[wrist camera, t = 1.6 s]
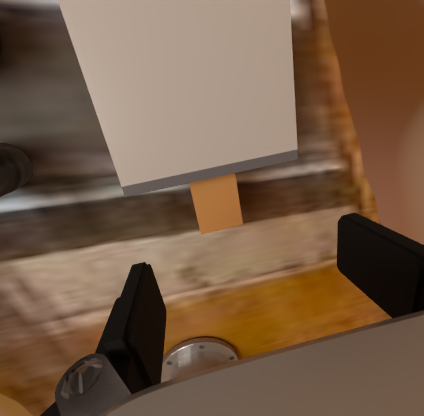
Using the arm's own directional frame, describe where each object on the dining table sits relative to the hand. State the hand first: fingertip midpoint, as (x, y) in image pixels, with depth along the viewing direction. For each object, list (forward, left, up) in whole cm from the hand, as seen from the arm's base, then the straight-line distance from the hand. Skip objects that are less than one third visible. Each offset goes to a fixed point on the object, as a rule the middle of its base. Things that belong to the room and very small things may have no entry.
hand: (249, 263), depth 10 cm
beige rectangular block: (+7, -7, -16) cm, 19 cm away
